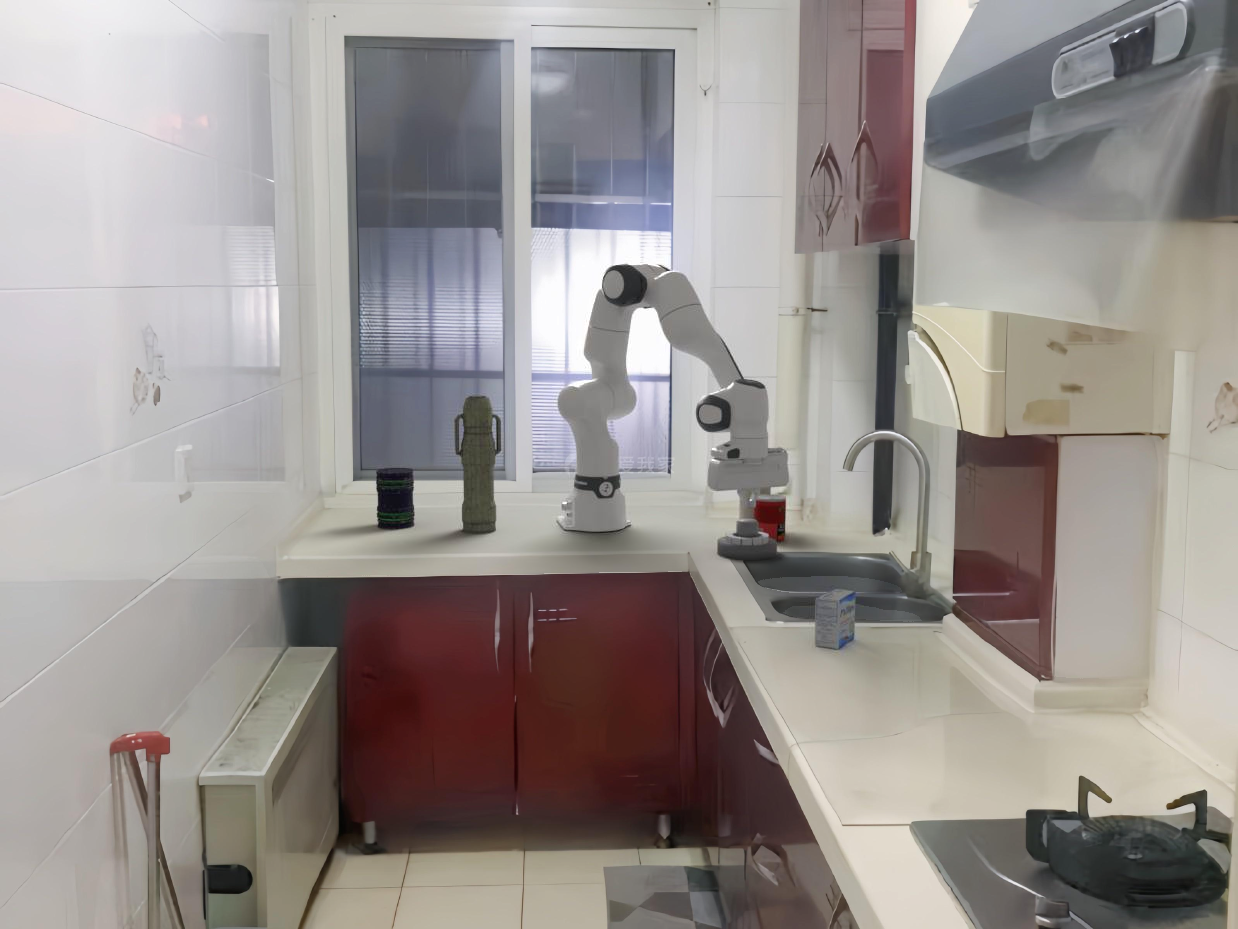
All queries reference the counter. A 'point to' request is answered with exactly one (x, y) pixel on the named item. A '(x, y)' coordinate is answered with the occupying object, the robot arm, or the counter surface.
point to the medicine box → (835, 618)
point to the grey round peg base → (747, 547)
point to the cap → (747, 528)
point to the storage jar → (395, 498)
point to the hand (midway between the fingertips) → (748, 507)
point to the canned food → (771, 515)
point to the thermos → (478, 463)
